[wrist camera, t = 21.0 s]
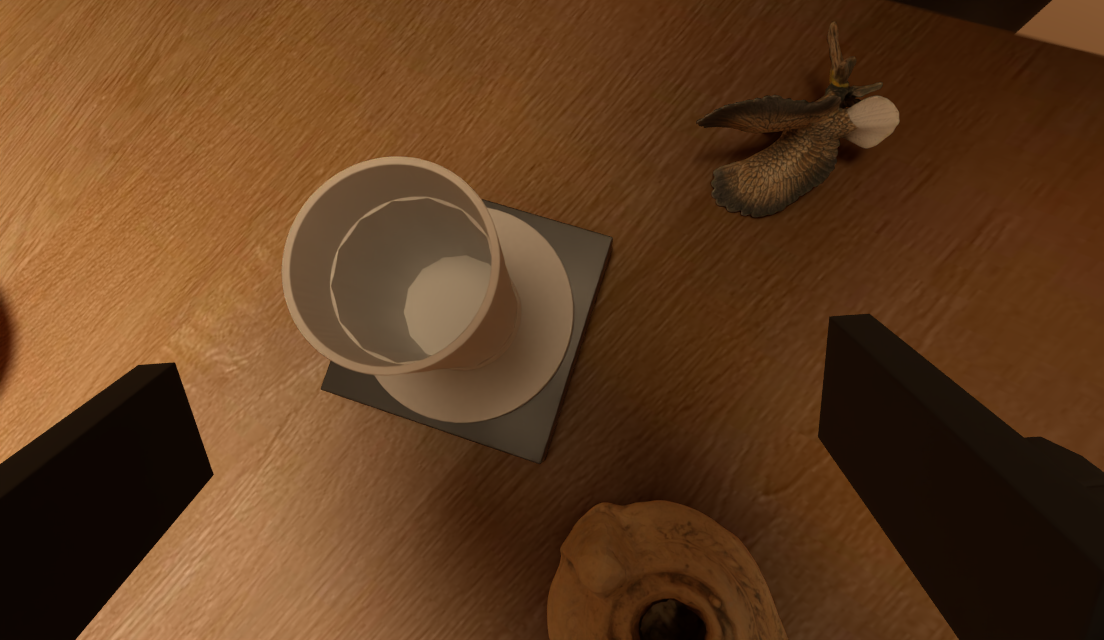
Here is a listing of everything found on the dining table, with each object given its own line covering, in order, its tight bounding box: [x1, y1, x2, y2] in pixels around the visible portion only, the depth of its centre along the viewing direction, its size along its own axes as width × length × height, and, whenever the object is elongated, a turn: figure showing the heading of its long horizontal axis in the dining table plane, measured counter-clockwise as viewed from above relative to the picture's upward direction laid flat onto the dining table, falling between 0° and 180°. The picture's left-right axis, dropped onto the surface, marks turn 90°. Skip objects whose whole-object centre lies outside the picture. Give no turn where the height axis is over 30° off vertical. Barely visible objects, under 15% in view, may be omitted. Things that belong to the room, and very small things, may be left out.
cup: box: [282, 157, 521, 376], centre depth 28 cm, size 8×8×12 cm
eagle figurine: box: [696, 21, 899, 217], centre depth 34 cm, size 8×7×9 cm
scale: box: [321, 199, 613, 464], centre depth 36 cm, size 13×13×3 cm
